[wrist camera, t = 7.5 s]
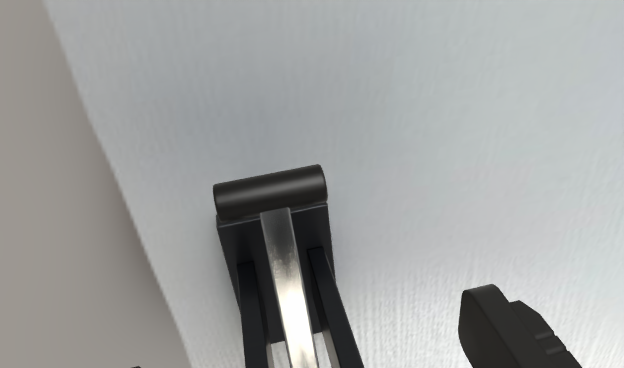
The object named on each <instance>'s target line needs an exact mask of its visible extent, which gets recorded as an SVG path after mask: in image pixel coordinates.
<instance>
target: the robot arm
mask: <svg viewBox="0 0 624 368" xmlns="http://www.w3.org/2000/svg"><path fill="white" fill-rule="evenodd" d="M458 334H459V339H460V343H461V346H462V348H463V351H464V353H465V355H466V356H467V358H468V360H469V362H470V363H471V365H472V367H473V368H582V367H581V365H580V364H579V363H578V362H577V360H576V359H575V358H574V357H573V355H572V354H571V353H570V352H569V351H567V350H566V347H565V345H564V344H563V343H562V341H561V340H560V339H559V338H558V336H555V334H554V331H553V330H552V329H551V328H550V326H549V325H548V324H547V323H546V321H545V320H544V319H543V318H542V316H541V315H540V314H539V313H537V312H536V311H535V310H533V309H532V308H530V307H529V306H527V305H526V304H524V303H523V302H521V301H520V300H518V301H514V302H510V303H509V301H508V300H507V299H506V297H505V296H504V295H503V293H502V292H501V291H500V289H499V288H498V287H497V286H495V285H494V284H489V285H485V286H481V287H477V288H472V289H468V290H464V291H463V293H462V298H461V307H460V316H459V325H458ZM133 368H140V367H139V366H137V367H133Z"/></svg>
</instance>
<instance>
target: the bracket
mask: <svg viewBox="0 0 624 368" xmlns="http://www.w3.org/2000/svg"><path fill="white" fill-rule="evenodd" d="M290 214H291V219H292V225H293V230H294V235H295V241H296V246H297V251H298V257H299V262H300V267H301V273H302V278H303V283H304V289H305V294H306V299H307V305H308V310H309V315H310V321H311V326H312V331H313V334H316V333H320V332H322V334H323V337H324V341H325V345H326V348H327V352H328V356H329V360H330V363H331V367H332V368H364V365H363V362H362V359H361V356H360V353H359V350H358V348H357V345H356V342H355V339H354V336H353V333H352V330H351V327H350V324H349V321H348V318H347V315H346V312H345V309H344V306H343V303H342V300H341V297H340V294H339V291H338V288H337V285H336V279H335V270H334V260H333V251H332V242H331V233H330V223H329V214H328V205H327V202H324V203H319V204H314V205H309V206H304V207H299V208H294V209H290ZM216 223H217V231H218V234H219V238H220V241H221V245H222V249H223V252H224V256H225V259H226V263H227V267H228V270H229V274H230V278H231V281H232V285H233V288H234V292H235V296H236V299H237V303H238V307H239V310H240V314H241V322H242V333H243V344H244V355H245V366H246V368H274V362H273V356H272V349H271V344H273V343H277V342H281V341H285V338H284V333H283V328H282V323H281V318H280V313H279V308H278V303H277V298H276V293H275V288H274V284H273V279H272V274H271V269H270V264H269V259H268V254H267V249H266V244H265V239H264V234H263V229H262V224H261V219H260V216H255V217H250V218H245V219H240V220H235V221H230V222H225V223H221V222H220V220H219V218H218V215H216Z"/></svg>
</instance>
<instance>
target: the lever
mask: <svg viewBox="0 0 624 368" xmlns="http://www.w3.org/2000/svg"><path fill="white" fill-rule="evenodd" d="M213 195H214V202H215V207H216V211H217V215H218V218H219V220H220V222H221V223H225V222H230V221H235V220H240V219H245V218H250V217H255V216H260V219H261V224H262V229H263V234H264V239H265V244H266V249H267V254H268V259H269V264H270V269H271V274H272V279H273V284H274V288H275V293H276V298H277V303H278V308H279V313H280V318H281V323H282V328H283V333H284V338H285V343H286V348H287V353H288V358H289V363H290V368H319V363H318V358H317V353H316V347H315V342H314V337H313V331H312V326H311V321H310V315H309V310H308V305H307V299H306V294H305V289H304V283H303V278H302V273H301V267H300V262H299V257H298V251H297V246H296V241H295V235H294V230H293V225H292V219H291V214H290V209H294V208H299V207H304V206H309V205H314V204H319V203H324V202H326V201H327V198H328V193H327V186H326V181H325V176H324V173H323V170H322V167H321V166H320V165H318V164H317V165H312V166H306V167H301V168H296V169H291V170H286V171H281V172H275V173H270V174H265V175H260V176H255V177H250V178H244V179H239V180H234V181H229V182H224V183H219V184H215V185H213Z"/></svg>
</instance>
